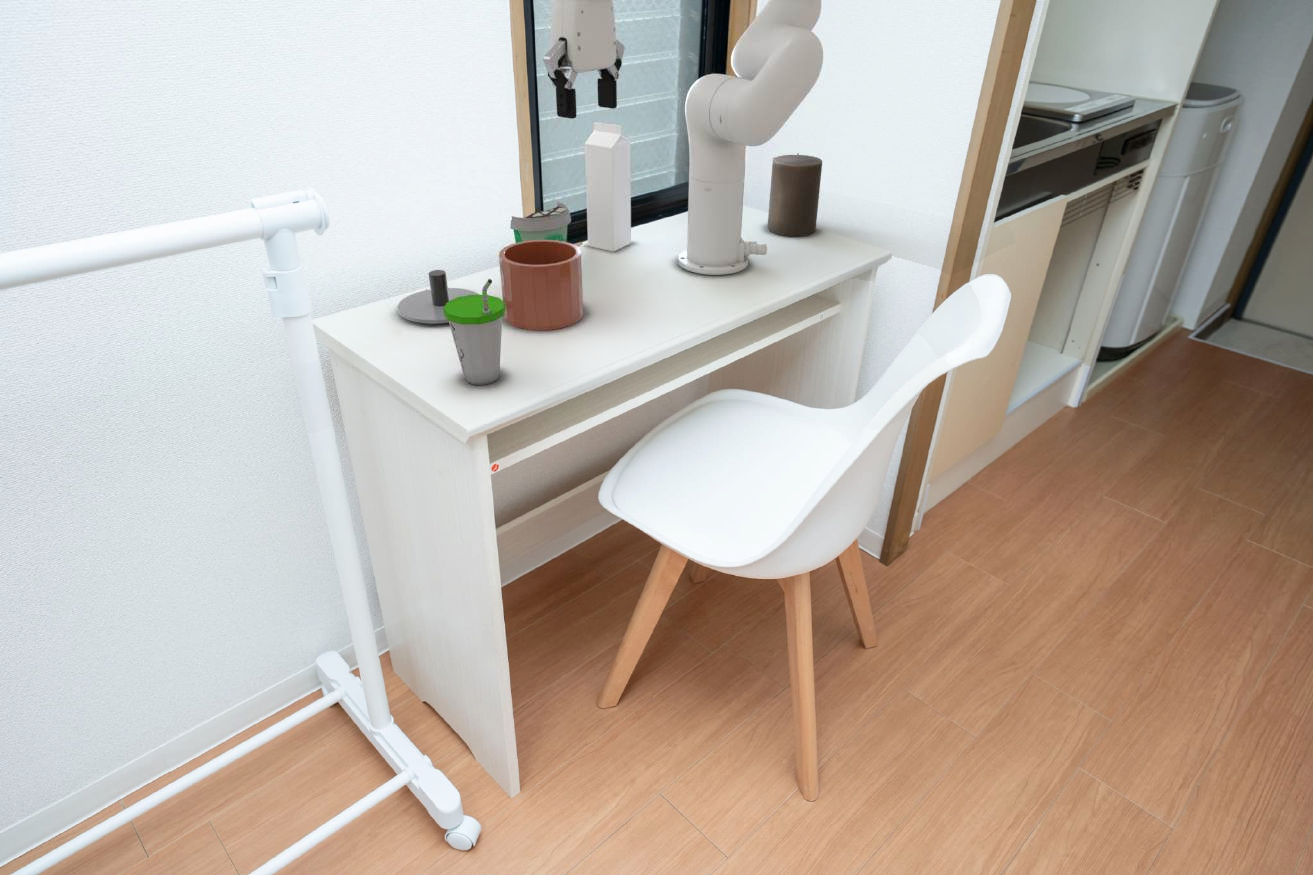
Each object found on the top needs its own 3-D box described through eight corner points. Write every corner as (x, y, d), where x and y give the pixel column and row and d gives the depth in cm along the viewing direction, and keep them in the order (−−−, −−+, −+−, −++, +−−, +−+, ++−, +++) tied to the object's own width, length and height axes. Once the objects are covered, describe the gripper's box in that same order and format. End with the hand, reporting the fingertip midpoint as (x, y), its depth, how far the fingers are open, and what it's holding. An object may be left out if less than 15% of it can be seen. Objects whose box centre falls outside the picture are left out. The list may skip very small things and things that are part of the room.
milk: (613, 252, 158) (611, 129, 146) (587, 246, 161) (583, 124, 149) (631, 243, 162) (631, 123, 151) (605, 237, 165) (603, 119, 153)
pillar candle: (813, 238, 166) (822, 160, 158) (763, 234, 168) (769, 156, 160) (817, 224, 174) (825, 148, 166) (769, 220, 176) (775, 145, 168)
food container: (539, 281, 144) (535, 223, 139) (513, 273, 148) (509, 216, 142) (587, 262, 153) (585, 207, 148) (562, 255, 156) (559, 201, 151)
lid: (487, 293, 139) (483, 257, 136) (481, 325, 128) (477, 287, 125) (405, 295, 138) (399, 259, 135) (392, 328, 127) (385, 289, 124)
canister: (582, 298, 138) (579, 238, 133) (584, 329, 128) (581, 265, 122) (506, 300, 137) (501, 240, 132) (502, 331, 126) (496, 267, 121)
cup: (451, 367, 116) (438, 262, 108) (509, 362, 118) (499, 258, 110) (453, 393, 110) (438, 284, 102) (514, 388, 111) (504, 279, 103)
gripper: (600, -22, 125) (602, 101, 134) (521, -17, 113) (529, 118, 122) (641, -20, 121) (641, 106, 130) (564, -14, 109) (570, 124, 118)
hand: (587, 112), depth 126 cm, fingers open, 9 cm apart
